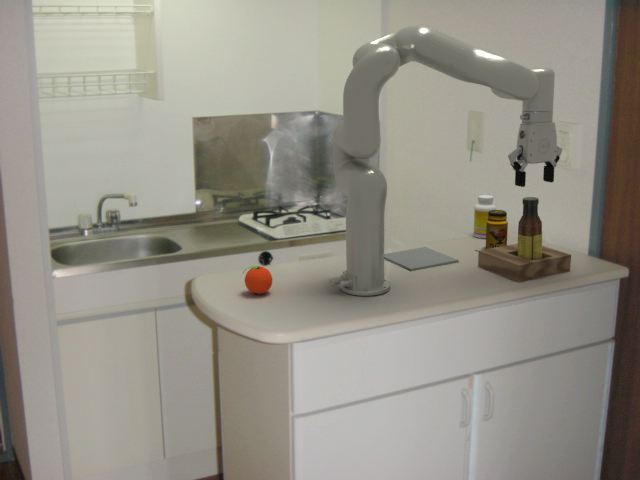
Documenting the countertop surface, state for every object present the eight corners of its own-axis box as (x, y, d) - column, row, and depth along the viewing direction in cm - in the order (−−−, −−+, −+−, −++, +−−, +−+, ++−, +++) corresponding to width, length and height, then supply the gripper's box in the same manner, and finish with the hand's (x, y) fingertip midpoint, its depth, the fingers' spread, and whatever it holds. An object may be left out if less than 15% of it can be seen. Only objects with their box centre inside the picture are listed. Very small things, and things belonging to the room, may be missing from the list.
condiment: (498, 256, 215) (500, 215, 212) (474, 250, 221) (475, 210, 218) (513, 250, 220) (515, 211, 217) (488, 245, 226) (490, 206, 223)
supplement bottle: (495, 239, 232) (497, 198, 229) (473, 238, 233) (474, 198, 230) (494, 234, 239) (496, 194, 235) (473, 233, 240) (474, 194, 236)
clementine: (236, 295, 187) (235, 268, 185) (250, 287, 193) (248, 260, 191) (264, 299, 183) (263, 271, 182) (277, 290, 190) (276, 263, 188)
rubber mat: (411, 271, 203) (411, 268, 203) (379, 256, 217) (379, 254, 216) (458, 262, 210) (458, 260, 210) (425, 248, 224) (425, 246, 224)
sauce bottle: (539, 267, 204) (543, 195, 199) (543, 274, 198) (547, 200, 193) (514, 267, 204) (517, 195, 199) (518, 274, 198) (521, 200, 193)
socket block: (518, 282, 192) (519, 265, 191) (478, 266, 206) (478, 250, 204) (570, 271, 200) (571, 254, 199) (528, 256, 214) (528, 241, 212)
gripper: (521, 121, 183) (518, 190, 188) (573, 116, 191) (569, 182, 196) (500, 119, 190) (498, 185, 194) (551, 113, 198) (548, 177, 202)
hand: (534, 183), depth 195 cm, fingers open, 9 cm apart
